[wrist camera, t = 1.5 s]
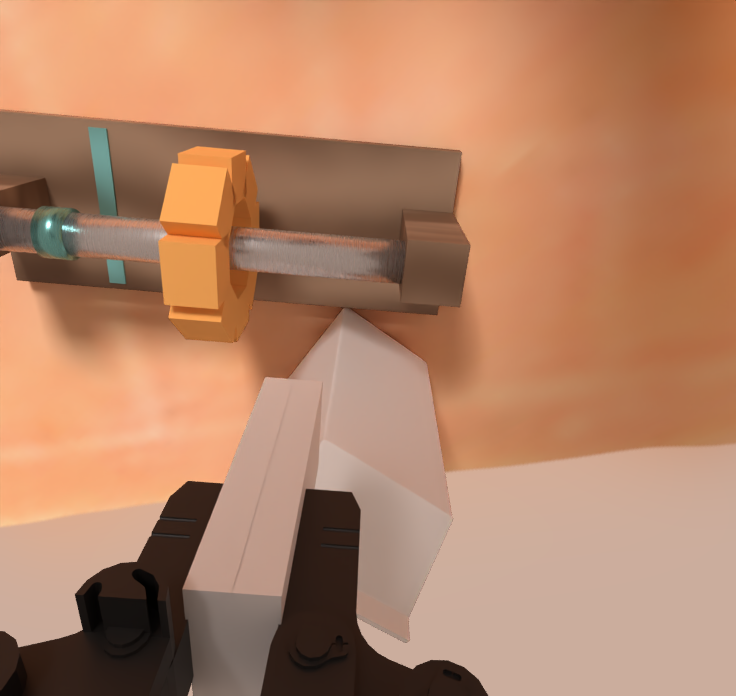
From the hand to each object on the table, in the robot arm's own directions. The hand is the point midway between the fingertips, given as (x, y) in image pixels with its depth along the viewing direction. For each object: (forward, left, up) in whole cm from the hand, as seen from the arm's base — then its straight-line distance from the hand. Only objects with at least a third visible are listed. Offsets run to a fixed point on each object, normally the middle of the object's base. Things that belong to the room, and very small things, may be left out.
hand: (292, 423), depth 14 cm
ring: (0, -6, -19) cm, 20 cm away
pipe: (0, -7, -16) cm, 17 cm away
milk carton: (+10, +2, -21) cm, 24 cm away
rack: (0, -7, -21) cm, 22 cm away
